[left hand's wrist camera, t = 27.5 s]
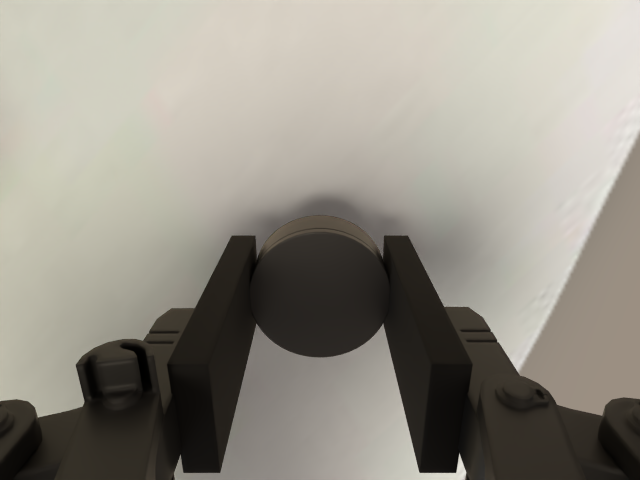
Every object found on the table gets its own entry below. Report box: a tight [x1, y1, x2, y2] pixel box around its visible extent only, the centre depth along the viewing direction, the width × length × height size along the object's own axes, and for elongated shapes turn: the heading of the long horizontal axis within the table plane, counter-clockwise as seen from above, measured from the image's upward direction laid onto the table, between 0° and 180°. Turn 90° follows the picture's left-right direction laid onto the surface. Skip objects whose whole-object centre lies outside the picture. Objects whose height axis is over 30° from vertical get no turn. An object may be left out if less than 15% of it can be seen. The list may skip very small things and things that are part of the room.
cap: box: [250, 215, 390, 357], centre depth 14 cm, size 4×4×2 cm
